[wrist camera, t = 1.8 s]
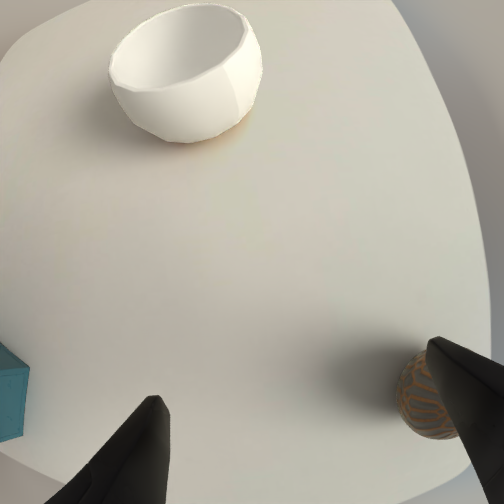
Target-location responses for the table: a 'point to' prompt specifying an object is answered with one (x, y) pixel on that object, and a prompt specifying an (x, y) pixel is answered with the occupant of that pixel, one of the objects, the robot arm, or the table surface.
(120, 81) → the cup
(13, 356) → the teal rectangular box
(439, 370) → the robot arm
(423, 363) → the vase
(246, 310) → the table surface
